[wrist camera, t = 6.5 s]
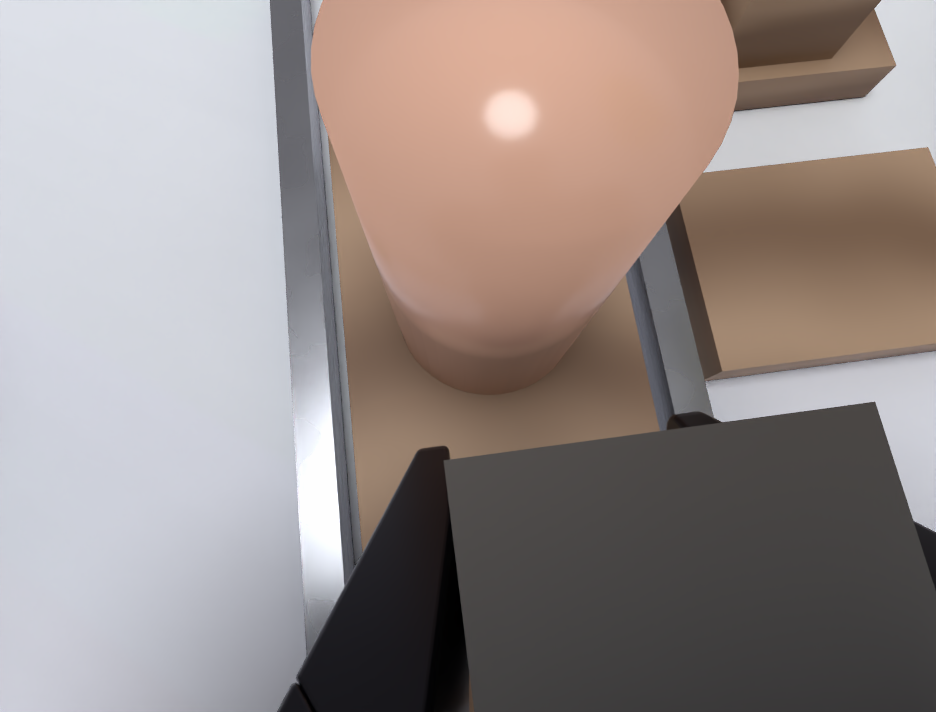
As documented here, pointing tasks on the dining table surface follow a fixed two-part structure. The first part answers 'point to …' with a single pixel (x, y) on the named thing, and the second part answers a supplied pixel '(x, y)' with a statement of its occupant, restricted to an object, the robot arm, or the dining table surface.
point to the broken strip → (810, 238)
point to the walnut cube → (792, 28)
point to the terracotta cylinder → (516, 159)
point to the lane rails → (315, 332)
